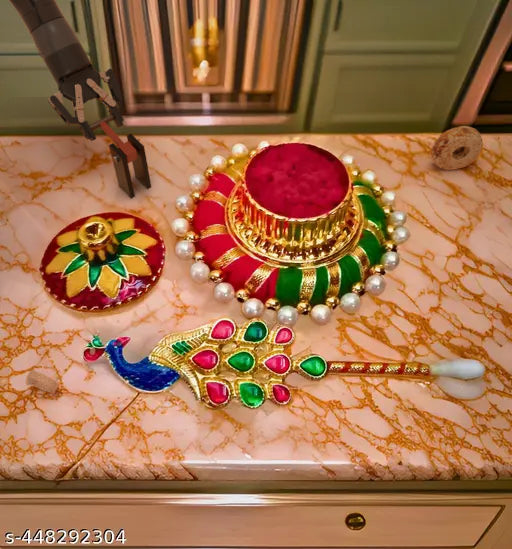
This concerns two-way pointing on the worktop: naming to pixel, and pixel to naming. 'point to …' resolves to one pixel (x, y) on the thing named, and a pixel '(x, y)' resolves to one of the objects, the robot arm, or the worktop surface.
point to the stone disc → (457, 148)
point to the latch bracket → (123, 167)
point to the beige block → (47, 382)
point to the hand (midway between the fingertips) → (107, 132)
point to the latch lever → (116, 137)
